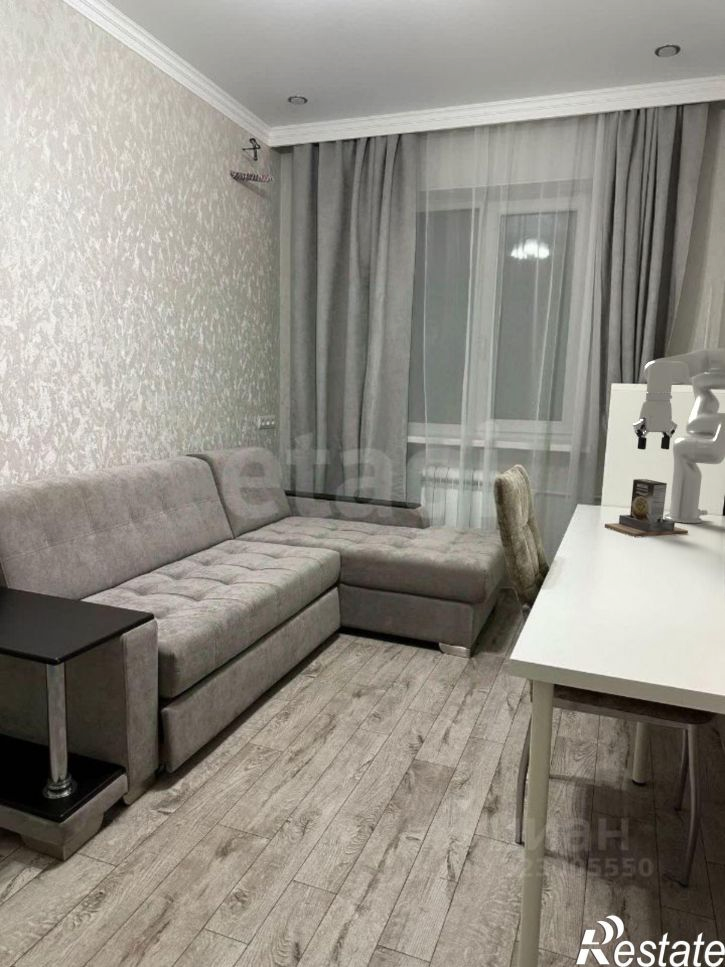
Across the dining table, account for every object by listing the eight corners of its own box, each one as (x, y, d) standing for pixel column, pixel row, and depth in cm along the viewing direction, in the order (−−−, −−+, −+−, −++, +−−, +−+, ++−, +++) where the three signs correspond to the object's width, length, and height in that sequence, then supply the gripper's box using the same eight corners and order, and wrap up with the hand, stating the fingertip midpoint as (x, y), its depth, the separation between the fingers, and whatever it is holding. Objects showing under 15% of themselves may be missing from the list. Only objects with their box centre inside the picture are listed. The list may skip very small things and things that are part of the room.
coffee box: (628, 524, 228) (632, 479, 226) (642, 523, 230) (646, 478, 228) (648, 530, 220) (653, 483, 217) (663, 529, 222) (667, 482, 220)
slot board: (655, 524, 236) (656, 513, 235) (687, 534, 221) (689, 521, 221) (604, 527, 229) (605, 515, 228) (634, 536, 215) (635, 524, 214)
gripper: (670, 398, 225) (665, 448, 227) (628, 397, 219) (624, 448, 222) (687, 399, 218) (682, 450, 220) (644, 398, 212) (640, 450, 215)
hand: (653, 449), depth 221 cm, fingers open, 9 cm apart
